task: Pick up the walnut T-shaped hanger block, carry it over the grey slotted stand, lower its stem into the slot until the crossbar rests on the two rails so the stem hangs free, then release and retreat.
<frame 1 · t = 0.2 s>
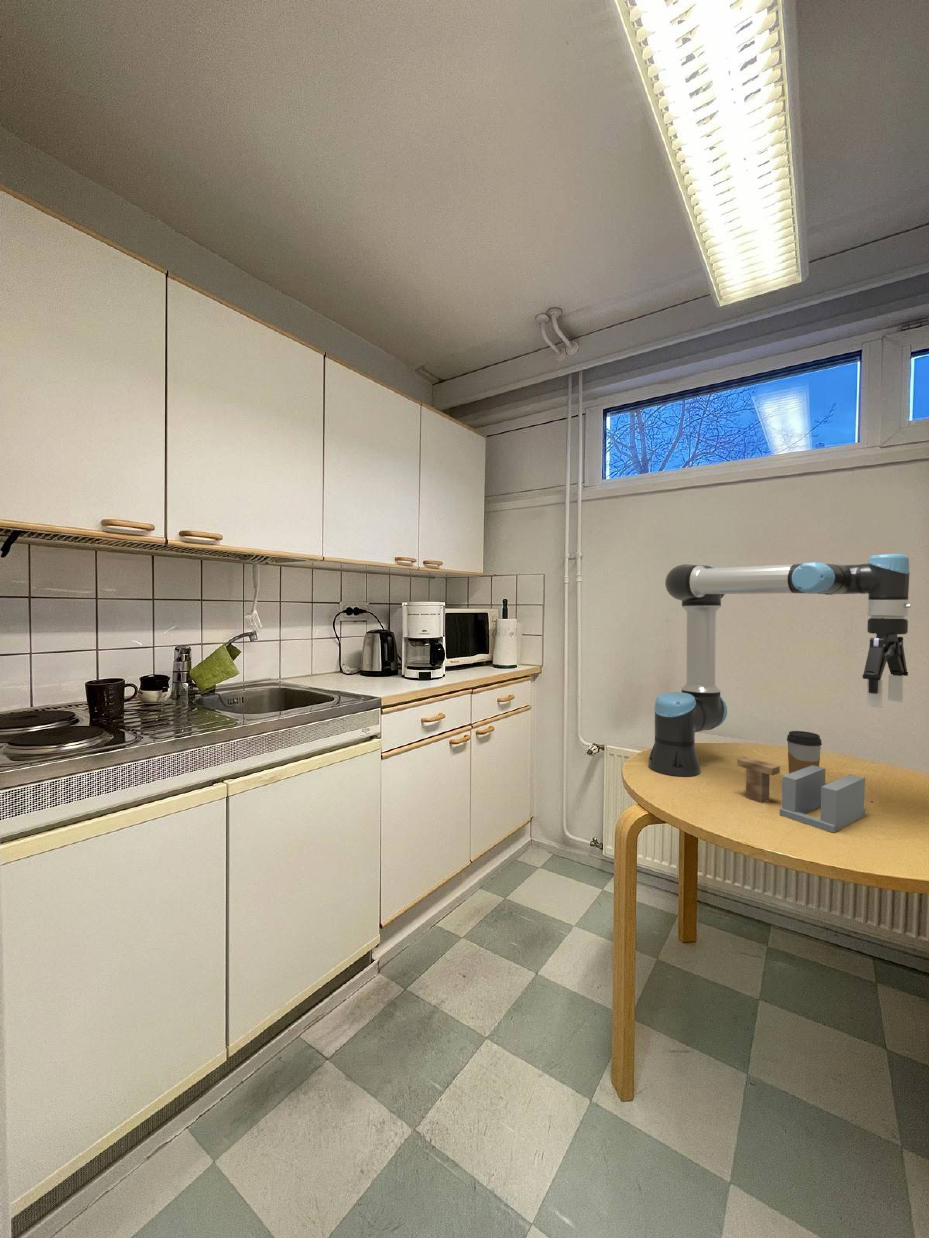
hand: (885, 704, 122), 28 cm above the table, fingers open, 13 cm apart
coffee cup: (802, 786, 142), on the table
slot stand: (822, 815, 122), on the table
tee hanger: (757, 798, 132), on the table
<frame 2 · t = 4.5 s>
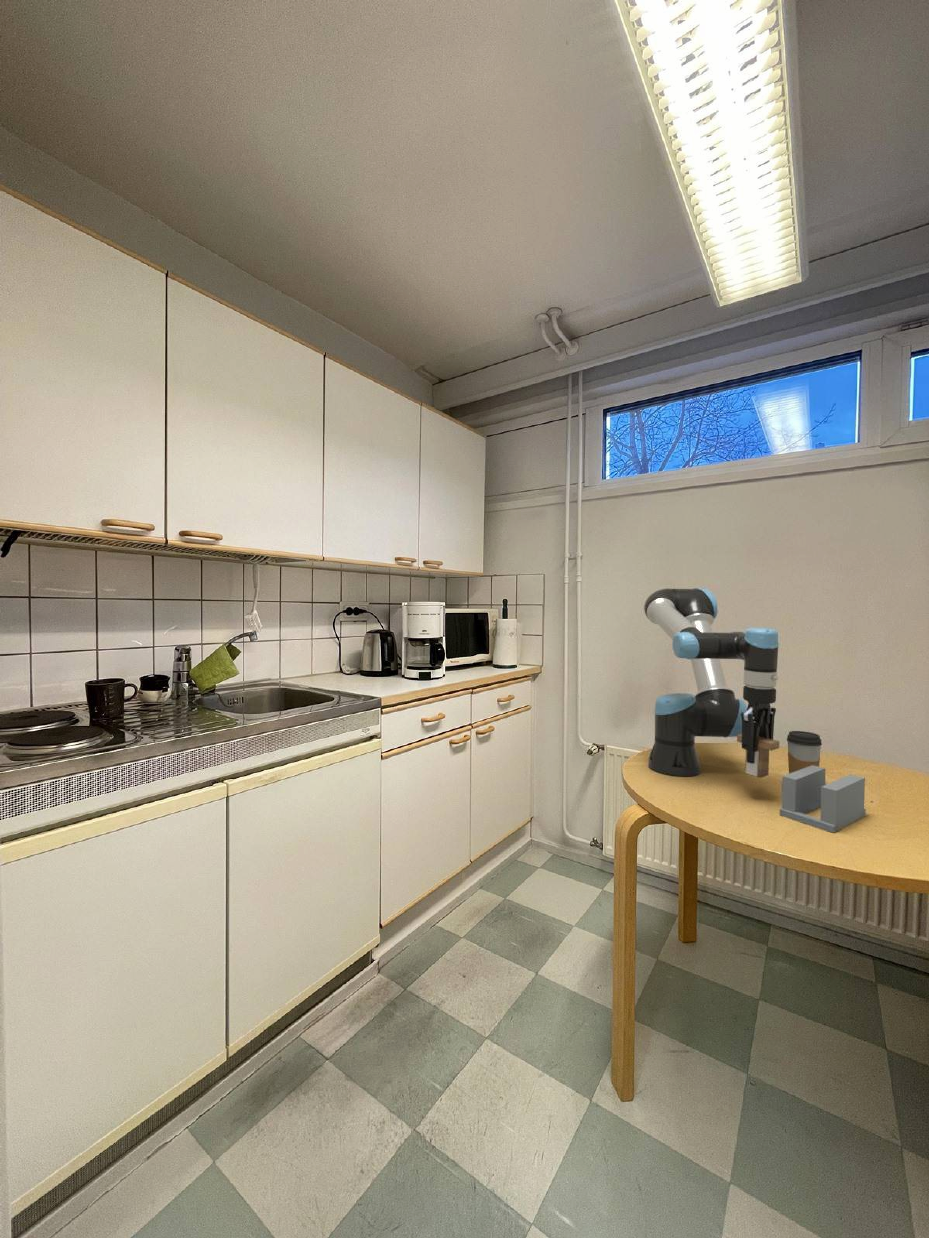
hand: (756, 772, 133), 7 cm above the table, fingers closed on tee hanger, 4 cm apart
tee hanger: (756, 774, 133), point 6 cm above the table, touching gripper
everything else where it was.
when the fingers open (2 cm above the table, at t = 8.7 s): tee hanger stays where it is, resting on slot stand.
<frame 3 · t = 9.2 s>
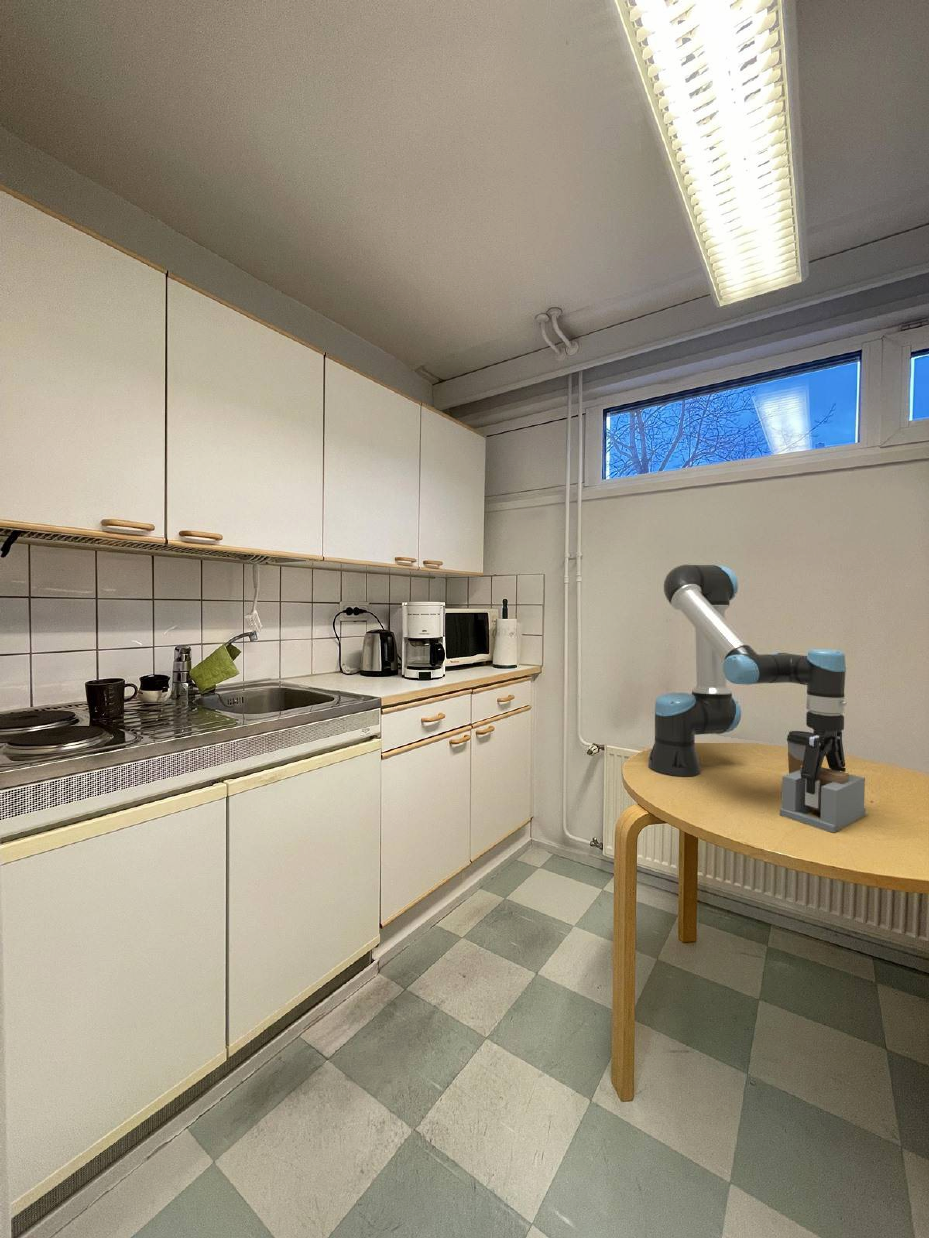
hand: (822, 801, 122), 3 cm above the table, fingers open, 11 cm apart
tee hanger: (822, 809, 122), point 1 cm above the table, touching slot stand
everything else where it was.
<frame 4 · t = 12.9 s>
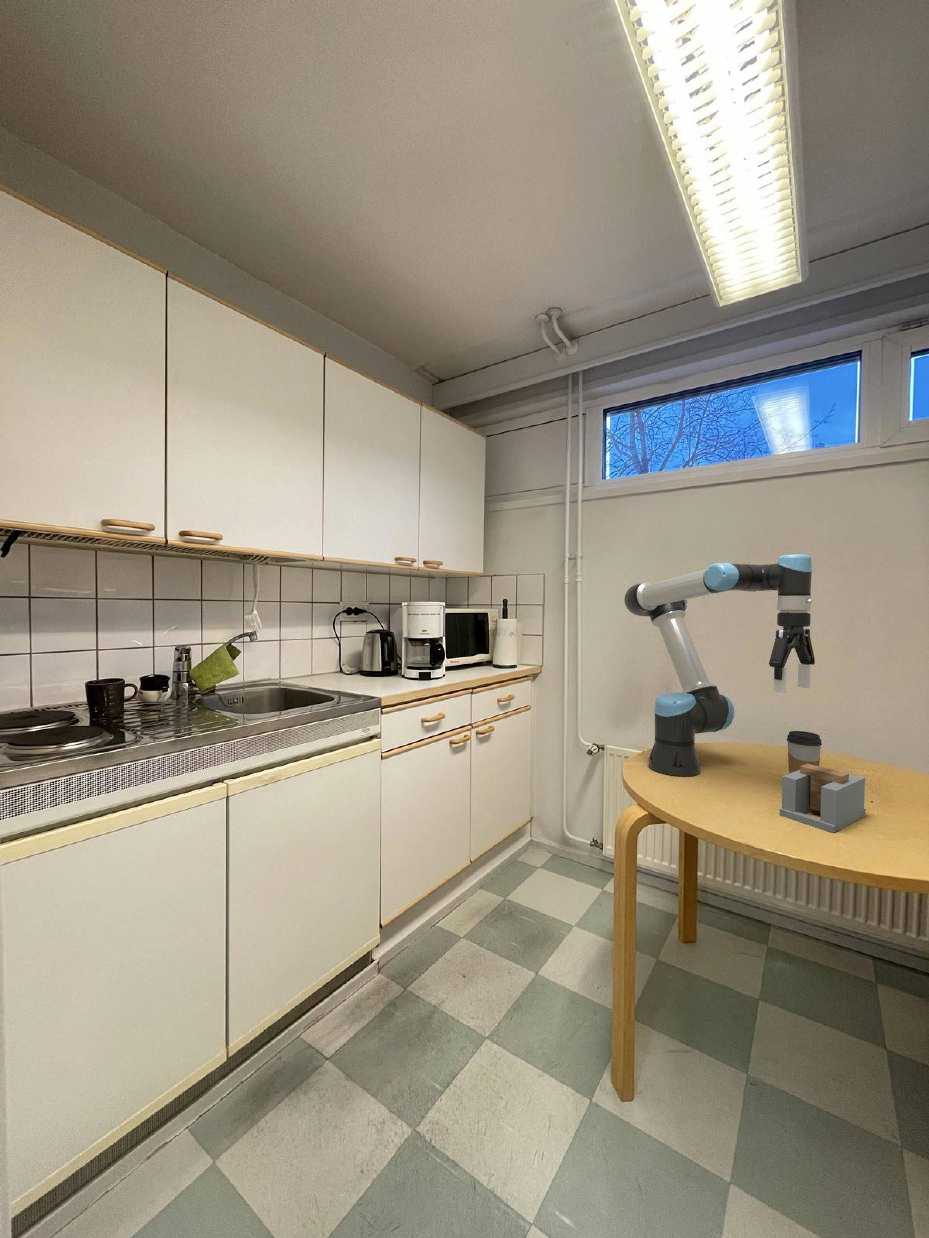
hand: (792, 689, 135), 29 cm above the table, fingers open, 13 cm apart
nothing on the table moved.
at the end: tee hanger inside the target area on the slot stand (0.0 cm from its centre), point 1.5 cm above the slot stand's base; tee hanger tilted 0°; tee hanger touching slot stand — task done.
